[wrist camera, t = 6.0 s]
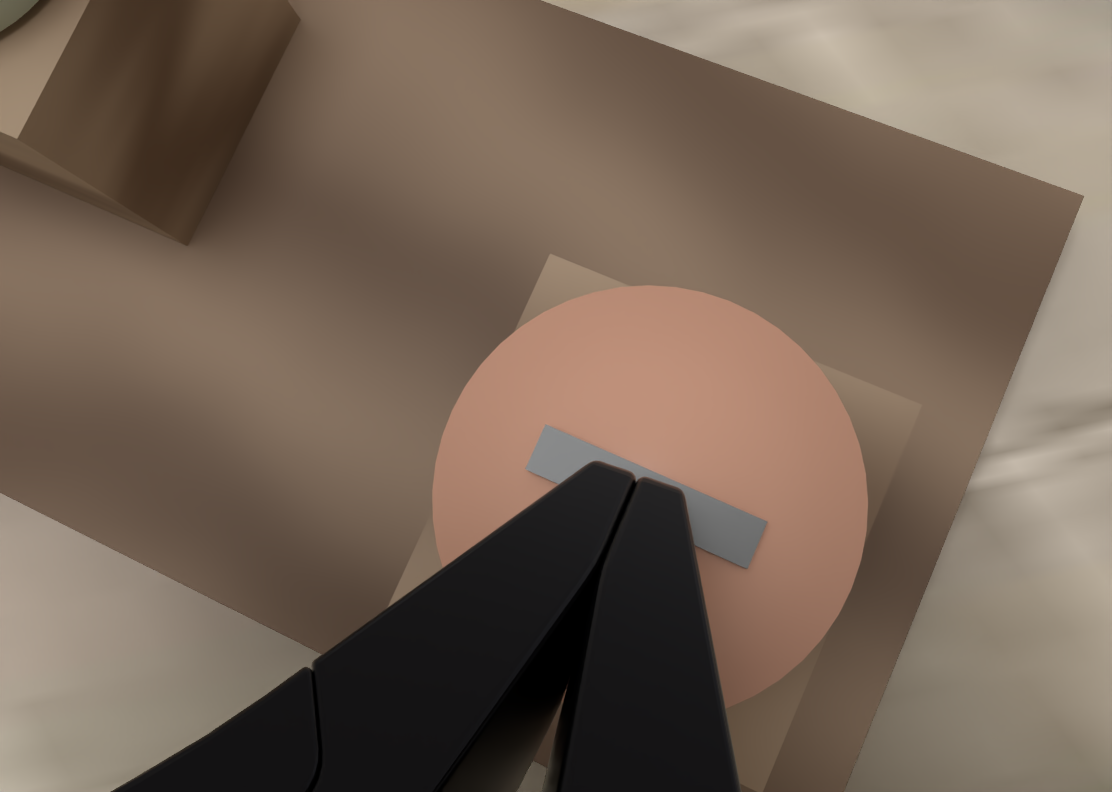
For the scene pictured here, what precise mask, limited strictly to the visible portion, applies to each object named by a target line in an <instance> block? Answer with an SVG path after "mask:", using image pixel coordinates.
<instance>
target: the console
mask: <svg viewBox="0 0 1112 792" xmlns="http://www.w3.org/2000/svg"><path fill="white" fill-rule="evenodd" d="M1083 198H1084V196H1082V195H1080V194H1077V193H1074V192H1071V191H1069V190H1066V189H1063V188H1060V187H1057V186H1055V185H1052V184H1049V183H1046V182H1044V181H1041V180H1038V179H1035V178H1032V177H1030V176H1027V175H1024V174H1021V173H1019V172H1016V171H1013V170H1010V169H1007V168H1005V167H1002V166H999V165H996V164H994V163H991V162H988V161H985V160H982V159H980V158H977V157H974V156H971V155H969V154H966V153H963V152H960V151H957V150H955V149H952V148H949V147H946V146H944V145H941V144H938V143H935V142H932V141H930V140H927V139H924V138H921V137H919V136H916V135H913V134H910V133H907V132H905V131H902V130H899V129H896V128H894V127H891V126H888V125H885V124H882V123H880V122H877V121H874V120H871V119H869V118H866V117H863V116H860V115H858V114H855V113H852V112H849V111H846V110H844V109H841V108H838V107H835V106H833V105H830V104H827V103H824V102H821V101H819V100H816V99H813V98H810V97H808V96H805V95H802V94H799V93H796V92H794V91H791V90H788V89H785V88H783V87H780V86H777V85H774V84H771V83H769V82H766V81H763V80H760V79H758V78H755V77H752V76H749V75H746V74H744V73H741V72H738V71H735V70H733V69H730V68H727V67H724V66H721V65H719V64H716V63H713V62H710V61H708V60H705V59H702V58H699V57H696V56H694V55H691V54H688V53H685V52H683V51H680V50H677V49H674V48H671V47H669V46H666V45H663V44H660V43H658V42H655V41H652V40H649V39H646V38H644V37H641V36H638V35H635V34H633V33H630V32H627V31H624V30H622V29H619V28H616V27H613V26H610V25H608V24H605V23H602V22H599V21H597V20H594V19H591V18H588V17H585V16H583V15H580V14H577V13H574V12H572V11H569V10H566V9H563V8H560V7H558V6H555V5H552V4H549V3H547V2H544V1H541V0H39V1H38V2H37V3H36V4H35V5H34V6H33V7H32V8H31V9H30V10H29V11H28V12H27V13H25V14H24V15H23V16H22V17H21V18H19V19H18V20H17V21H16V22H14V23H13V24H11V25H10V26H8V27H7V28H5V29H4V30H2V31H1V32H0V493H2V494H4V495H6V496H8V497H10V498H12V499H14V500H16V501H18V502H20V503H22V504H24V505H26V506H28V507H30V508H32V509H34V510H36V511H38V512H40V513H42V514H44V515H46V516H48V517H50V518H52V519H54V520H56V521H58V522H60V523H62V524H64V525H66V526H68V527H70V528H72V529H74V530H76V531H78V532H80V533H82V534H84V535H86V536H88V537H90V538H92V539H94V540H96V541H98V542H100V543H102V544H104V545H106V546H107V547H109V548H111V549H113V550H115V551H117V552H119V553H121V554H123V555H125V556H127V557H129V558H131V559H133V560H135V561H137V562H139V563H141V564H143V565H145V566H147V567H149V568H151V569H153V570H155V571H157V572H159V573H161V574H163V575H165V576H167V577H169V578H171V579H173V580H175V581H177V582H179V583H181V584H183V585H185V586H187V587H189V588H191V589H193V590H195V591H197V592H199V593H201V594H203V595H205V596H207V597H209V598H211V599H213V600H215V601H217V602H219V603H221V604H223V605H225V606H227V607H229V608H231V609H233V610H235V611H237V612H239V613H241V614H243V615H245V616H247V617H249V618H251V619H253V620H255V621H257V622H259V623H261V624H263V625H265V626H267V627H269V628H271V629H273V630H275V631H277V632H279V633H281V634H283V635H285V636H287V637H289V638H291V639H293V640H295V641H297V642H298V643H300V644H302V645H304V646H306V647H308V648H310V649H312V650H314V651H316V652H318V653H320V654H324V653H325V652H327V651H328V650H329V649H331V648H332V647H334V646H335V645H336V644H338V643H339V642H340V641H342V640H343V639H345V638H346V637H347V636H349V635H350V634H352V633H353V632H354V631H356V630H357V629H359V628H360V627H361V626H363V625H364V624H366V623H367V622H368V621H370V620H371V619H372V618H374V617H375V616H377V615H378V614H379V613H381V612H382V611H384V610H385V609H386V608H388V607H389V606H391V605H392V604H393V603H395V602H396V601H397V600H399V599H400V598H402V597H403V596H404V595H406V594H407V593H409V592H410V591H411V590H413V589H414V588H416V587H417V586H418V585H420V584H421V583H422V582H424V581H425V580H427V579H428V578H429V577H431V576H432V575H434V574H435V573H436V572H438V571H439V570H441V569H442V568H443V567H442V564H441V560H440V556H439V553H438V549H437V545H436V538H435V531H434V524H433V505H432V489H433V480H434V471H435V463H436V459H437V455H438V451H439V447H440V443H441V438H442V435H443V432H444V430H445V427H446V425H447V422H448V420H449V417H450V414H451V412H452V410H453V408H454V406H455V404H456V402H457V400H458V398H459V397H460V395H461V393H462V391H463V389H464V387H465V386H466V384H467V383H468V382H469V380H470V379H471V377H472V376H473V375H474V373H475V372H476V370H477V369H478V368H479V366H480V365H481V364H482V363H483V362H484V360H485V359H486V358H487V357H488V356H489V355H490V354H491V353H492V352H493V351H494V350H495V349H496V348H497V346H498V345H499V344H500V343H502V342H503V341H504V340H505V339H506V338H508V337H509V336H510V335H511V334H512V333H514V332H515V331H516V330H517V329H519V328H520V327H521V326H523V325H524V324H526V323H527V322H529V321H530V320H532V319H534V318H535V317H537V316H538V315H540V314H541V313H543V312H545V311H547V310H549V309H551V308H553V307H556V306H558V305H560V304H562V303H564V302H566V301H568V300H571V299H574V298H578V297H581V296H584V295H587V294H590V293H593V292H597V291H603V290H608V289H613V288H618V287H629V286H645V285H652V286H667V287H678V288H683V289H689V290H694V291H699V292H704V293H707V294H710V295H713V296H716V297H719V298H722V299H725V300H728V301H731V302H733V303H735V304H737V305H739V306H741V307H743V308H745V309H747V310H749V311H752V312H754V313H756V314H757V315H759V316H760V317H762V318H763V319H765V320H766V321H768V322H770V323H771V324H773V325H774V326H776V327H777V328H779V329H780V330H781V331H782V332H784V333H785V334H786V335H787V336H788V337H789V338H791V339H792V340H793V341H794V342H795V343H797V344H798V345H799V346H800V347H801V348H802V349H803V350H804V351H805V352H806V353H807V354H808V356H809V357H810V358H811V359H812V360H813V361H814V362H815V363H816V364H817V365H818V367H819V368H820V369H821V370H822V372H823V373H824V375H825V376H826V377H827V379H828V380H829V382H830V383H831V385H832V386H833V388H834V389H835V390H836V392H837V394H838V396H839V398H840V400H841V402H842V403H843V405H844V407H845V409H846V411H847V413H848V415H849V417H850V420H851V422H852V425H853V428H854V431H855V433H856V436H857V439H858V442H859V444H860V449H861V453H862V458H863V463H864V467H865V472H866V482H867V494H868V515H867V532H866V537H865V543H864V548H863V553H862V558H861V562H860V565H859V568H858V571H857V574H856V577H855V580H854V583H853V586H852V589H851V591H850V593H849V595H848V597H847V599H846V601H845V603H844V605H843V607H842V609H841V611H840V613H839V615H838V616H837V618H836V619H835V621H834V622H833V624H832V625H831V627H830V628H829V630H828V631H827V633H826V634H825V636H824V637H823V638H822V640H821V641H820V642H819V643H818V644H817V645H816V646H815V647H814V649H813V650H812V651H811V652H810V653H809V654H808V655H807V656H806V657H805V659H804V660H803V661H802V662H800V663H799V664H798V665H797V666H796V667H795V668H793V669H792V670H791V671H790V672H789V673H787V674H786V675H785V676H784V677H783V678H781V679H780V680H779V681H777V682H776V683H774V684H773V685H771V686H769V687H768V688H766V689H765V690H763V691H761V692H760V693H758V694H757V695H755V696H753V697H751V698H749V699H746V700H744V701H742V702H740V703H738V704H735V705H733V706H731V707H729V708H726V712H727V718H728V723H729V728H730V733H731V739H732V744H733V749H734V754H735V760H736V765H737V770H738V775H739V781H740V786H741V791H742V792H844V790H845V788H846V785H847V783H848V780H849V778H850V775H851V773H852V770H853V768H854V765H855V763H856V760H857V758H858V755H859V753H860V750H861V748H862V745H863V743H864V740H865V738H866V735H867V733H868V731H869V728H870V726H871V723H872V721H873V718H874V716H875V713H876V711H877V708H878V706H879V703H880V701H881V698H882V696H883V693H884V691H885V688H886V686H887V683H888V681H889V678H890V676H891V674H892V671H893V669H894V666H895V664H896V661H897V659H898V656H899V654H900V651H901V649H902V646H903V644H904V641H905V639H906V636H907V634H908V631H909V629H910V626H911V624H912V621H913V619H914V617H915V614H916V612H917V609H918V607H919V604H920V602H921V599H922V597H923V594H924V592H925V589H926V587H927V584H928V582H929V579H930V577H931V574H932V572H933V569H934V567H935V564H936V562H937V560H938V557H939V555H940V552H941V550H942V547H943V545H944V542H945V540H946V537H947V535H948V532H949V530H950V527H951V525H952V522H953V520H954V517H955V515H956V512H957V510H958V507H959V505H960V503H961V500H962V498H963V495H964V493H965V490H966V488H967V485H968V483H969V480H970V478H971V475H972V473H973V470H974V468H975V465H976V463H977V460H978V458H979V455H980V453H981V451H982V448H983V446H984V443H985V441H986V438H987V436H988V433H989V431H990V428H991V426H992V423H993V421H994V418H995V416H996V413H997V411H998V408H999V406H1000V403H1001V401H1002V398H1003V396H1004V394H1005V391H1006V389H1007V386H1008V384H1009V381H1010V379H1011V376H1012V374H1013V371H1014V369H1015V366H1016V364H1017V361H1018V359H1019V356H1020V354H1021V351H1022V349H1023V346H1024V344H1025V341H1026V339H1027V337H1028V334H1029V332H1030V329H1031V327H1032V324H1033V322H1034V319H1035V317H1036V314H1037V312H1038V309H1039V307H1040V304H1041V302H1042V299H1043V297H1044V294H1045V292H1046V289H1047V287H1048V284H1049V282H1050V280H1051V277H1052V275H1053V272H1054V270H1055V267H1056V265H1057V262H1058V260H1059V257H1060V255H1061V252H1062V250H1063V247H1064V245H1065V242H1066V240H1067V237H1068V235H1069V232H1070V230H1071V227H1072V225H1073V223H1074V220H1075V218H1076V215H1077V213H1078V210H1079V208H1080V205H1081V203H1082V200H1083ZM562 704H563V702H561V704H560V706H559V708H558V710H557V713H556V715H555V717H554V719H553V721H552V723H551V725H550V727H549V729H548V731H547V733H546V735H545V737H544V739H543V741H542V743H541V745H540V747H539V749H538V751H537V753H536V755H535V757H534V759H533V761H535V762H537V763H539V764H541V765H543V766H545V767H547V768H548V763H549V759H550V754H551V750H552V745H553V741H554V736H555V732H556V728H557V724H558V720H559V716H560V712H561V708H562Z"/></svg>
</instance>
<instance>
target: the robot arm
mask: <svg viewBox="0 0 1112 792" xmlns="http://www.w3.org/2000/svg"><path fill="white" fill-rule="evenodd" d="M566 689H567V690H566ZM565 691H566V693H565ZM564 694H565V697H564V701H563V704H562V708H561V712H560V716H559V720H558V724H557V728H556V732H555V736H554V741H553V745H552V750H551V754H550V759H549V763H548V768H547V772H546V777H545V781H544V786H543V790H542V792H742V791H741V786H740V781H739V775H738V770H737V765H736V760H735V754H734V749H733V744H732V739H731V733H730V728H729V723H728V718H727V712H726V707H725V702H724V697H723V692H722V686H721V681H720V676H719V671H718V665H717V660H716V655H715V650H714V644H713V639H712V634H711V629H710V623H709V618H708V613H707V608H706V602H705V597H704V592H703V587H702V581H701V576H700V571H699V566H698V561H697V555H696V550H695V545H694V540H693V534H692V529H691V524H690V519H689V513H688V508H687V503H686V498H685V495H684V493H683V491H682V490H681V489H680V488H678V487H675V486H672V485H669V484H666V483H663V482H661V481H658V480H655V479H652V478H649V477H641V478H639V479H638V480H637V482H636V477H635V475H634V474H633V472H631V471H628V470H625V469H622V468H619V467H616V466H613V465H611V464H608V463H605V462H602V461H592V462H590V463H588V464H586V465H585V466H584V467H582V468H581V469H579V470H578V471H577V472H575V473H574V474H573V475H571V476H570V477H568V478H567V479H566V480H564V481H563V482H561V483H560V484H559V485H557V486H556V487H554V488H553V489H552V490H550V491H549V492H547V493H546V494H545V495H543V496H542V497H541V498H539V499H538V500H536V501H535V502H534V503H532V504H531V505H529V506H528V507H527V508H525V509H524V510H522V511H521V512H520V513H518V514H517V515H516V516H514V517H513V518H511V519H510V520H509V521H507V522H506V523H504V524H503V525H502V526H500V527H499V528H497V529H496V530H495V531H493V532H492V533H491V534H489V535H488V536H486V537H485V538H484V539H482V540H481V541H479V542H478V543H477V544H475V545H474V546H472V547H471V548H470V549H468V550H467V551H466V552H464V553H463V554H461V555H460V556H459V557H457V558H456V559H454V560H453V561H452V562H450V563H449V564H447V565H446V566H445V567H443V568H442V569H441V570H439V571H438V572H436V573H435V574H434V575H432V576H431V577H429V578H428V579H427V580H425V581H424V582H422V583H421V584H420V585H418V586H417V587H416V588H414V589H413V590H411V591H410V592H409V593H407V594H406V595H404V596H403V597H402V598H400V599H399V600H397V601H396V602H395V603H393V604H392V605H391V606H389V607H388V608H386V609H385V610H384V611H382V612H381V613H379V614H378V615H377V616H375V617H374V618H372V619H371V620H370V621H368V622H367V623H366V624H364V625H363V626H361V627H360V628H359V629H357V630H356V631H354V632H353V633H352V634H350V635H349V636H347V637H346V638H345V639H343V640H342V641H340V642H339V643H338V644H336V645H335V646H334V647H332V648H331V649H329V650H328V651H327V652H325V653H324V654H322V655H321V656H320V657H318V658H317V659H315V660H314V661H313V663H312V670H311V669H310V668H308V667H304V668H302V669H301V670H299V671H298V672H297V673H295V674H294V675H293V676H291V677H290V678H288V679H287V680H286V681H284V682H283V683H281V684H280V685H279V686H277V687H276V688H275V689H273V690H272V691H270V692H269V693H268V694H266V695H265V696H263V697H262V698H260V699H259V700H258V701H256V702H255V703H253V704H252V705H250V706H249V707H247V708H246V709H244V710H243V711H241V712H240V713H238V714H237V715H235V716H234V717H232V718H231V719H229V720H228V721H226V722H225V723H223V724H222V725H221V726H219V727H218V728H216V729H215V730H213V731H212V732H210V733H209V734H207V735H206V736H204V737H202V738H201V739H199V740H197V741H196V742H194V743H192V744H191V745H189V746H187V747H186V748H184V749H182V750H181V751H179V752H177V753H176V754H174V755H172V756H171V757H169V758H167V759H166V760H164V761H162V762H161V763H159V764H157V765H156V766H154V767H152V768H151V769H149V770H147V771H146V772H144V773H142V774H141V775H139V776H137V777H135V778H134V779H132V780H130V781H128V782H127V783H125V784H123V785H121V786H120V787H118V788H116V789H114V790H113V791H111V792H517V790H518V788H519V786H520V784H521V782H522V780H523V778H524V776H525V774H526V772H527V770H528V768H529V766H530V765H531V763H532V761H533V759H534V757H535V755H536V753H537V751H538V749H539V747H540V745H541V743H542V741H543V739H544V737H545V735H546V733H547V731H548V729H549V727H550V725H551V723H552V721H553V719H554V717H555V715H556V713H557V710H558V708H559V706H560V704H561V701H562V699H563V696H564Z"/></svg>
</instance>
